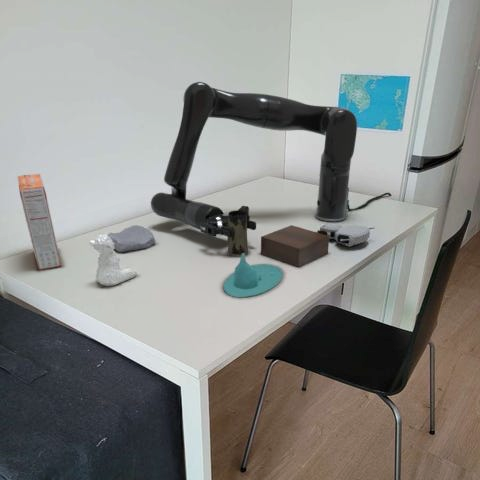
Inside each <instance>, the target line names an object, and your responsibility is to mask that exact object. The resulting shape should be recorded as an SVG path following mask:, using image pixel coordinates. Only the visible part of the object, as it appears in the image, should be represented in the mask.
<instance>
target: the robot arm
mask: <svg viewBox="0 0 480 480" xmlns="http://www.w3.org/2000/svg"><path fill="white" fill-rule="evenodd" d="M182 100H183V101H182V102H183V105H182V106H183V107H182V114H181V120H180V125H179V130H178V133H177V137H176V139H175V142H174V144H173V148H172V149H171V153H170V156H169V159H168V163H167V166H166V170H165V172H164V177H163V182H164V183H165V184H166V185H168V186H169V187H171V189H170V190H171V193H168V192H163V191H162V192H161V191H160V192H157V193H155V194H154V195H153V196H152V198H151V200H150V208H151V211H152V212H153V213H154V214H155V215H157V216H159V217H163V218H165V219H170V220H175V221H178V222H180V223H183V224H186V225H188V226H191V227H192V228H195V229H197V230H200V232H201V233H203V234H206V235H208V236H210V237H213V238H215V237H217V236H220V237H221V236H225V237H227V238H228V237H230V238H233V237H234V229H231V228H228V213H224V212H223V209H221V208H220V207H218V206H216V205H212V204H209V203H205V202H201V201H195V200H192V199H188V198H187V185H188V182H189V178H190V174H191V171H192V168H193V165H194V161H195V157H196V152H197V148H198V144H199V142H200V138H201V135H202V132H203V130H204V128H205V126H206V123H207V121H208V119H209V118H214V119H225V120H231V121H234V122H237V123H241V124H244V125H247V126H251V127H255V128H259V129H264V130H265V129H266V130H270V131H271V130H272V131H283V132H285V131H287V132H288V131H290V132H291V131H306V132H311V133H314V134H318V135H322V136H324V137H325V138H324V147H323V152H322V153H321V156H320V166H319V177H318V193H317V200H316V201H317V202H316V213H315V217H316V219H318V220H320V221H324V222H341V221H344V220H345V219H346V216H347V211H349V212H352V211H358V210H360V209H362V208H363V207H366V206H367V205H368V204H369V203H370V202H372V201H375V200H377V199H380V198H383V197H384V196H387V195H388V196H389V197H392V196H393V195H392V194H391V193H390V192H385V193H383V194H380V195H377V196H375V197H372V198H370V199H368V200H367V201H365V203H364V204H361V205H359V206H356V207H355V208H351V207H350V200H349V193H350V187H349V182H350V171H351V165H352V164H351V163H352V158H353V156H354V153H355V147H356V141H357V133H358V120H357V117H356V115H355V114H354V113H353V112H352V111H351V110H350V109H347V108H345V107H342V106H325V105H324V106H323V105H313V104H307V103H304V102H300V101H298V100H294V99H291V98H288V97H287V98H286V97H283V96H277V95H273V94H267V93H266V94H265V93H255V92H231V91H226V90H221V89H218V88H215V87H211V86H210V85H209V84H208V83H206V82H203V81H195V82H192V83H191V84H189V85H188V86H187V87H186V89H185V90H184V94H183V97H182ZM250 217H251V216H250V215H249V219H248V228H247V230H252V231H255V230H257V222H256V221H254V220H251V218H250Z"/></svg>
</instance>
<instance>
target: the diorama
mask: <svg viewBox="0 0 480 480" xmlns="http://www.w3.org/2000/svg"><path fill="white" fill-rule="evenodd" d="M246 259H247V258H246V255H245V253H242V255H241V256H240V260H239V263H238V264H237V265H236V266H235V268H234V272H233V273H232V274H230V276H228V277H227V278H226V279H225V281H224V283H223V290H224V292H225V294H227V295H228V296H231V297H233V298H239V299H240V298H241V299H242V298H251V297H255V296H258V295H262V294H265V293H267V292H269V291H271V290H272V289H274V288H275V287H276V286H277V285H278V284H279V283H280V282H281V280H282V278H283V272H282V270H281V268H279V267H277V266H276V265H271V264H263V263H262V264H254V265H250V264H249V263H248V262H247V260H246Z"/></svg>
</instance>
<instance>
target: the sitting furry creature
mask: <svg viewBox="0 0 480 480" xmlns="http://www.w3.org/2000/svg"><path fill="white" fill-rule="evenodd" d="M88 242H89V245H90V246H91V247H92V248H93V249H94V250H96V251H97V252H98V253H99V255H98V257H97V269H96V274H95V275H96V276H95V277H96V279H97V282H98V283H99V284H100V285H102V286H105V287H112V286H117V285H119V284H121V283H124V282H126V281H128V280H130V279H132V278H135V276H137V273H138V272H137V270H136V269H135V268H132V267H131V268H130V267H126V268H124V269H122V268H121V267H120V261H121V258H120V257H118V255H117V254H116V252H115V247H114V245H115V244H114V243H113V240H112V239H111V238H110V237H108V234H104V233H102V234H98V235H97V236H96V237H95V239H89V240H88Z"/></svg>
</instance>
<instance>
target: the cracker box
mask: <svg viewBox="0 0 480 480" xmlns="http://www.w3.org/2000/svg"><path fill="white" fill-rule="evenodd" d="M17 183H18V191H19V196H20V200H21V205H22V209H23V214H24V218H25V222H26V226H27V229H28V233H29V237H30V242H31V246H32V249H33V254H34V256H35V260H36V264H37V268H38V270H39V271H40V270H48V269H53V268H60V267H62V262H61V256H60V252H59V248H58V243H57V239H56V234H55V229H54V224H53V220H52V216H51V211H50V206H49V202H48V196H47V192H46V189H45V185H44V182H43V178H42V175H41V174H40V173H35V174H22V175H18V176H17Z"/></svg>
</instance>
